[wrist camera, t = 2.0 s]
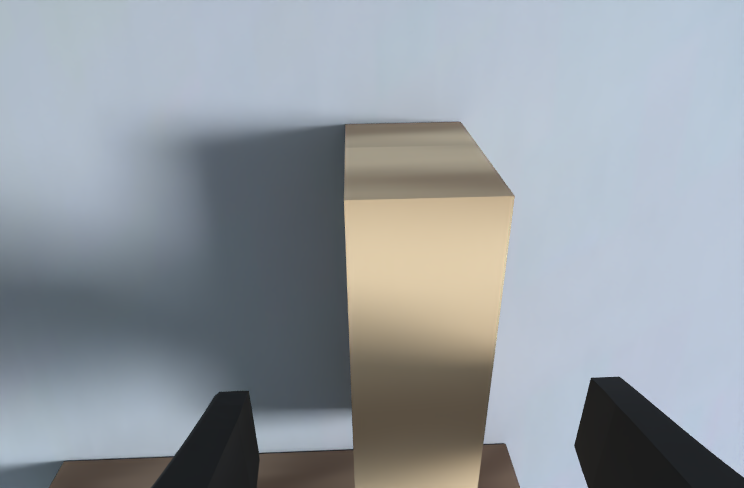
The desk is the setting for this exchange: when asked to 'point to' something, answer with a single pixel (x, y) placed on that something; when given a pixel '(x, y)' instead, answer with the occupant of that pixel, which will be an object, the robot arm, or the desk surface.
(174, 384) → the desk surface
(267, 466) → the walnut u-shaped block
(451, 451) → the oak block
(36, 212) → the desk surface
